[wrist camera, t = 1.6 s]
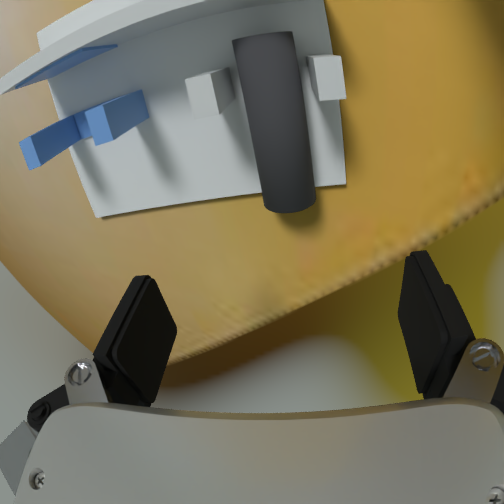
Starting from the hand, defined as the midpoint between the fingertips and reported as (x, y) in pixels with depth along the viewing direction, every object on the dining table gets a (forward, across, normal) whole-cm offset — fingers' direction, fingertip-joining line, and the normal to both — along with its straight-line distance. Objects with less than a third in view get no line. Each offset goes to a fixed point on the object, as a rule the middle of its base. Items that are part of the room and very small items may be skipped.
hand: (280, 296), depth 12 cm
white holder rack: (+11, +6, -8) cm, 15 cm away
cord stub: (+11, 0, -4) cm, 12 cm away
